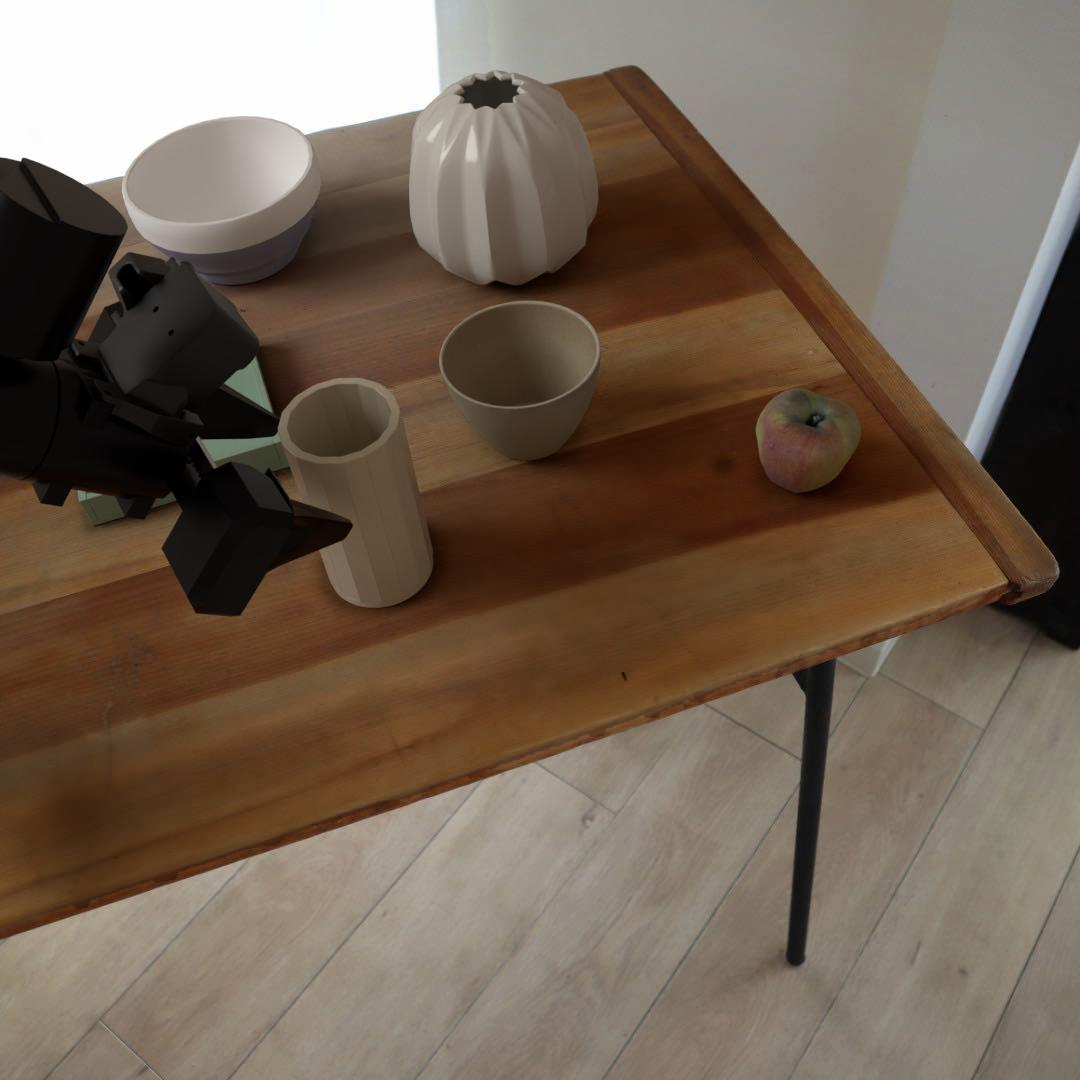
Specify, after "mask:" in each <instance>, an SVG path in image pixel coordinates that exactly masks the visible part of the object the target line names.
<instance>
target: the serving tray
mask: <svg viewBox="0 0 1080 1080" xmlns="http://www.w3.org/2000/svg"><path fill="white" fill-rule="evenodd" d="M224 384H226V385H228V386H229V387H230V388H232V389H234V390H236V391H237V392H239V393H241V394H242V395H244V396H245V397H247V398H249V399H250V400H252V401H254V402H255V403H257V404H258V405H260V406H262V407H263V408H265V409H266V410H268V411H270V412H271V413H273V414H275V412H274V409H273V405H272V402H271V399H270V395H269V392H268V388H267V384H266V381H265V378H264V376H263V372H262V368H261V365H260V362H259V359H258V355H257V354H256V356H255V358H254V359H253V361H252V362H251V363H250V364H249V365H248V366H247V367H246V368H244V369H242V370H238V371H236V372H235V373H234V374H233V375H232V376H231V377H230V378H229V379H228V380H227V381H226V382H225V383H224ZM201 441H202V442H203V444H204V446H205V447H206V449H207V451H208V452H209V454H210V455H211V457H212V459H213V460H214V462H215V464H216V465H217V467H219V466H221V465H223V464H226V463H228V462H230V461H232V462H236V463H241V464H246V465H250V466H252V467H253V468H255V469H257V470H258V471H260V472H261V473H263V474H265V472H266V470H267V469H268V468H270V469H271V470H272V472H273V473H274V472H277V471H279V470H283V469H286V468H290V466H289V463H288V460H287V457H286V454H285V451H284V448H283V445H282V442H281V439H280V436H279V432H277V434H276V435H275V436H273V437H265V438H254V439H210V440H201ZM77 496H78V503H79V504H80V506H81V508H82V509H83V511H84V513H85V514H86V516H87V518H88V520H89V522H90V524H91V526H93V527H94V526H97V525H101V524H104V523H107V522H111V521H114V520H118V519H121V518H124V517H125V515H124V513H123V512H122V510H121V508H120V506H119V504H118V502H117V500H116V498H115V497H114V496H108V495H102V494H96V493H90V492H84V491H78V490H77ZM173 502H177V500H176V498H175V497H174V495H173V493H172V491H171V492H170V494H169V495H167V496H166V497H165V498H164V499H158V498H156V500H155V502H154V504H153V506H152V507H151V509H154V508H158V507H160V506H164V505H168V504H170V503H173Z"/></svg>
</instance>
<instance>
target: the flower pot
mask: <svg viewBox="0 0 1080 1080" xmlns="http://www.w3.org/2000/svg"><path fill="white" fill-rule="evenodd" d="M601 344H602V343H601V341H600V337H599V333H598V332H597V331H596V329H595V327H594V326H593V325H592V324H591V322H590V321H589V320H588V319H587V318H586V317H584V316H583V315H582V314H580V313H579V312H577V311H576V310H573V309H572V308H570V307H567V306H563V305H561V304H557V303H555V302H554V303H553V302H549V301H543V300H539V301H538V300H515V301H509V302H504V303H503V302H502V303H499V304H495V305H491V306H488V307H486V308H483V309H481V310H478V311H477V312H474V313H472V314H471V315H469V316H467V317H466V318H465V319H463V320H462V321H461V322H459V323H458V324H457V325H455V327H454V328H453V329H452V330H450V332H449V333H448V335H447V336H446V337H445V339H444V341H443V343H442V345H441V348H440V351H439V357H438V364H439V371H440V374H441V376H442V380H443V382H444V384H445V387H446V389H447V391H448V393H449V395H450V397H451V399H452V401H453V403H454V404H455V406H456V408H457V410H458V411H459V413H460V414H461V416H462V417H463V419H464V420H465V421H466V422H467V424H468V425H469V426H470V427H471V429H472V430H473V431H474V432H475V434H477V435H478V436H479V437H480V438H481V439H482V440H483V441H484V442H486V443H487V444H488V445H489V446H490V447H492V448H493V449H495V450H496V451H497V452H499V453H500V454H502V455H504V456H505V457H508V458H510V459H512V460H513V459H514V460H518V461H534V460H535V461H536V460H541V459H544V458H547V457H549V456H550V455H552V454H554V453H556V452H558V451H559V450H560V449H561V448H562V447H563V446H564V445H565V443H566V442H567V441H568V440H569V439H570V438H571V436H572V435H573V434H574V432H575V431H576V430H577V428H578V427H579V425H580V424H581V422H582V420H583V418H584V416H585V415H586V412H587V410H588V408H589V406H590V403H591V401H592V397H593V395H594V392H595V388H596V385H597V382H598V381H597V380H598V377H599V372H600V365H601V356H602V347H601V346H602V345H601Z"/></svg>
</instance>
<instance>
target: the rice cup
mask: <svg viewBox="0 0 1080 1080" xmlns="http://www.w3.org/2000/svg"><path fill="white" fill-rule="evenodd" d="M279 418H280V422H279V426H278V432H279V436H280V439H281V442H282V445H283V448H284V451H285V454H286V457H287V460H288V463H289V466H290V467H289V468H290V471H291V474H292V477H293V480H294V483H295V486H296V489H297V491H298V495H299V497H300V500H301V502H302V503H305V504H308V505H311V506H314V507H317V508H320V509H323V510H326V511H329V512H332V513H335V514H337V515H340V516H342V517H344V518H347V519H349V520H350V521H351V522H352V524H353V528H352V529H351V531H350V532H349V534H348V536H347V537H346V538H345V539H344V540H343V541H340V542H338V543H335V544H333V545H330V546H328V547H325V548H323V549H320V550H318V552H319V554H320V557H321V560H322V562H323V565H324V568H325V572H326V574H327V578H328V579H329V583H330V584H331V587H332V589H333V590H334V591H335V593H336V594H337V595H338V596H339V597H340V598H341V599H343V600H344V601H346V602H347V603H349V604H351V605H354V606H357V607H362V608H367V609H368V608H369V609H380V608H388V607H392V606H395V605H397V604H401V603H402V602H405V601H407V600H408V599H410V598H411V597H413V596H415V595H416V594H417V593H418V592H419V591H420V590H421V589H423V587H424V586H425V585H426V583H427V582H428V580H429V579H430V577H431V574H432V572H433V568H434V563H435V561H434V550H433V545H432V541H431V536H430V532H429V528H428V523H427V518H426V515H425V514H426V513H425V510H424V505H423V501H422V497H421V492H420V489H419V484H418V479H417V475H416V471H415V467H414V462H413V458H412V453H411V450H410V444H409V442H408V436H407V432H406V428H405V424H404V419H403V415H402V411H401V408H400V404H399V403H398V400H397V398H396V395H395V394H394V393H393V392H392V391H390V390H389V389H387V388H386V387H385V386H384V385H383V384H381V383H380V382H377V381H373V380H369V379H366V378H363V377H337V378H332V379H329V380H325V381H322V382H318V383H315V384H313V385H311V386H310V387H309V388H308V387H307V389H305V390H303V391H302V392H300V393H298V394H296V396H294V397H293V398H292V400H291V401H290V402H289V403H288V404H287V406H286V407H285V408H284V409H283V410H282V411H281V415H280V417H279Z"/></svg>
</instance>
